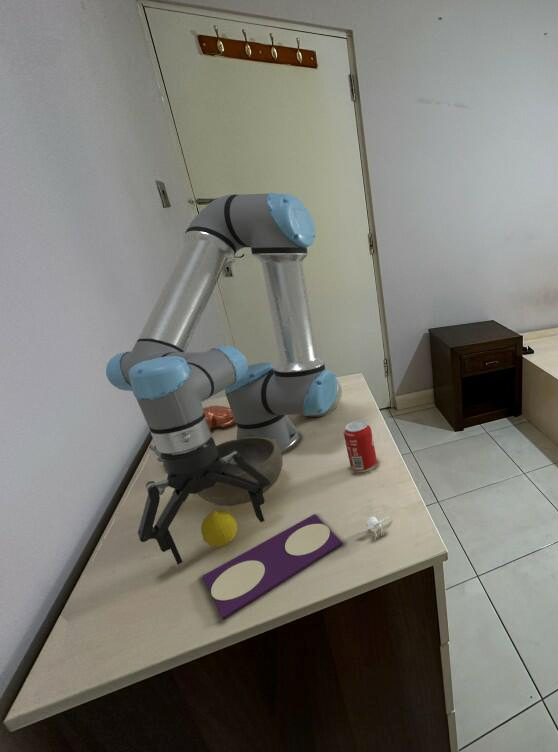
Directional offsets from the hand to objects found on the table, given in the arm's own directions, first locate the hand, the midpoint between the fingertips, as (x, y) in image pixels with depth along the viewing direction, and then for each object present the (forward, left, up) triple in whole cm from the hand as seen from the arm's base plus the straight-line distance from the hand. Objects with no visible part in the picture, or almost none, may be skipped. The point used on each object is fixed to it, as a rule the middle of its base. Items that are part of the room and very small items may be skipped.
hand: (222, 538), depth 77 cm
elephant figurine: (-42, -1, -2) cm, 42 cm away
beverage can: (-2, +31, -2) cm, 31 cm away
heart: (-56, +12, -2) cm, 58 cm away
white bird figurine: (+20, +21, -2) cm, 29 cm away
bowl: (-15, +8, -2) cm, 17 cm away
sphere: (-41, +37, -2) cm, 55 cm away
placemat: (+12, +5, -2) cm, 13 cm away
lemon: (0, 0, -2) cm, 2 cm away
